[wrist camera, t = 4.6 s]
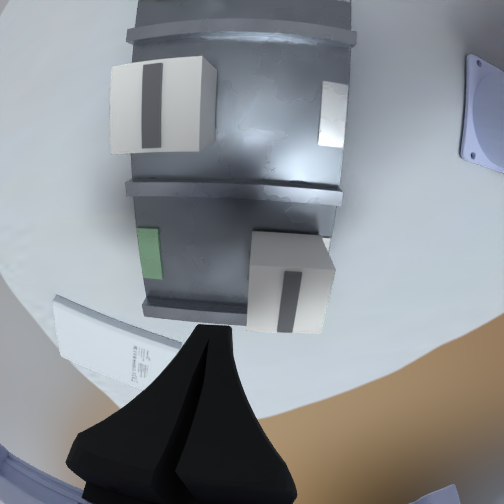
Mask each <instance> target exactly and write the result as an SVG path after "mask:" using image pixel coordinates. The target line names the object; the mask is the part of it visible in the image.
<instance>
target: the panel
mask: <svg viewBox="0 0 504 504" xmlns="http://www.w3.org/2000/svg"><path fill="white" fill-rule="evenodd" d="M126 42H128V43H130V44H132V45H133V56H132V63H135V62H142V61H150V60H158V59H167V58H178V57H193V56H203V57H204V58H205V59H206V60H207V61H208V62H209V63H210V64H211V65H212V66H213V67H214V68H215V69H217V86H216V110H215V141H214V143H212V144H211V145H209V146H208V147H206V148H204V149H203V150H201V151H199V152H147V153H131V165H132V179H131V180H129V181H127V182H126V183H125V186H126V196H134V208H135V218H136V228H137V236H138V244H139V252H140V259H141V266H142V273H143V279H144V285H145V291H146V298H145V300H144V302H143V304H142V308H143V313H144V316H146V317H154V318H162V319H171V320H181V321H191V322H202V323H214V324H228V325H243V326H247V309H248V289H249V269H250V255H251V241H252V231H260V232H277V233H293V234H308V235H321V237H322V239H323V242H324V244H325V246H326V248H327V251H328V253H329V248H330V243H331V237H332V231H333V225H334V218H335V212H336V206H342V199H343V193H344V192H343V191H342V190H341V189H340V188H339V184H340V176H341V168H342V160H343V151H344V142H345V131H346V120H347V108H348V95H349V78H350V55H351V48H352V47H353V46H355V45H356V32H355V31H351V0H139V1H138V8H137V15H136V24H135V28H131V29H127V38H126Z"/></svg>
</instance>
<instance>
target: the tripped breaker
mask: <svg viewBox="0 0 504 504" xmlns="http://www.w3.org/2000/svg"><path fill="white" fill-rule="evenodd" d="M335 270H336V269H335V267H334V265H333V262H332V260H331V258H330V255H329V253H328V251H327V248H326V246H325V244H324V242H323V239H322V237H321V235H308V234H293V233H277V232H260V231H252V241H251V255H250V269H249V289H248V309H247V328H246V331H253V332H275V333H312V334H321V331H322V327H323V323H324V319H325V315H326V310H327V306H328V302H329V298H330V293H331V289H332V284H333V280H334V275H335Z"/></svg>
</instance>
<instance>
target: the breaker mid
mask: <svg viewBox="0 0 504 504" xmlns="http://www.w3.org/2000/svg"><path fill="white" fill-rule="evenodd" d="M216 86H217V69H215V68H214V67H213V66H212V65H211V64H210V63H209V62H208V61H207V60H206V59H205V58H204V57H203V56H193V57H178V58H167V59H158V60H150V61H142V62H135V63H129V64H123V65H118V66H112V67H111V87H110V139H111V155H112V154H127V153H147V152H199V151H201V150H203V149H204V148H206V147H208V146H209V145H211V144H212V143H214V141H215V110H216Z"/></svg>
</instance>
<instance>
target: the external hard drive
mask: <svg viewBox="0 0 504 504" xmlns="http://www.w3.org/2000/svg"><path fill="white" fill-rule="evenodd" d="M52 308H53V316H54V322H55V329H56V335H57V341H58V346H59V351H60V355H61V356H62V357H64V358H66V359H68V360H70V361H72V362H74V363H76V364H78V365H81V366H83V367H85V368H87V369H90V370H92V371H94V372H97V373H99V374H101V375H104V376H106V377H109V378H111V379H114V380H116V381H119V382H122V383H124V384H127V385H130V386H133V387H135V388H138V389H141V390H144V389H146V388H147V387H148V386H149V385H150V384H151V383H152V382H153V381H154V380H155V379H156V378H157V377H158V376H159V374H160V373H161V372H162V371H163V370H164V369H165V368H166V366H167V365H168V364H169V363H170V362H171V361H172V359H173V358H174V357H175V356H176V354H177V353H178V352H179V350H180V349H181V346H182V343H180V342H177V341H174V340H171V339H168V338H165V337H162V336H159V335H156V334H153V333H150V332H147V331H145V330H142V329H139V328H136V327H133V326H131V325H128V324H125V323H123V322H120V321H117V320H115V319H112V318H110V317H107V316H105V315H102V314H100V313H97V312H95V311H92V310H90V309H88V308H85V307H83V306H81V305H78V304H76V303H74V302H71V301H69V300H67V299H65V298H62V297H60V296H58V295H57V296H56V297H55V298H54V299H53V301H52Z"/></svg>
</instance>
